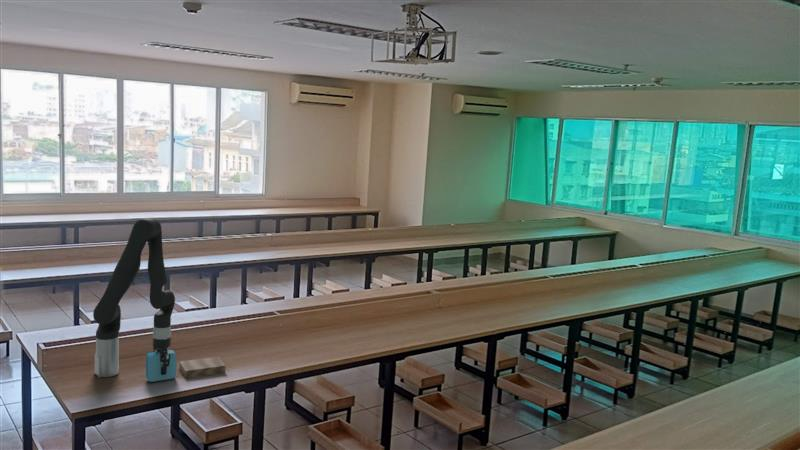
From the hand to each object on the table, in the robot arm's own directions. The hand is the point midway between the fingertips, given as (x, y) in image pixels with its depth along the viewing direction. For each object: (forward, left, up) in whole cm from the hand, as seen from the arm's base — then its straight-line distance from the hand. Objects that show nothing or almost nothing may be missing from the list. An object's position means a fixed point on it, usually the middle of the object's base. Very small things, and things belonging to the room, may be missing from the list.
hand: (161, 372), depth 287 cm
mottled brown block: (+19, 0, -4) cm, 20 cm away
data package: (0, 0, -3) cm, 3 cm away
